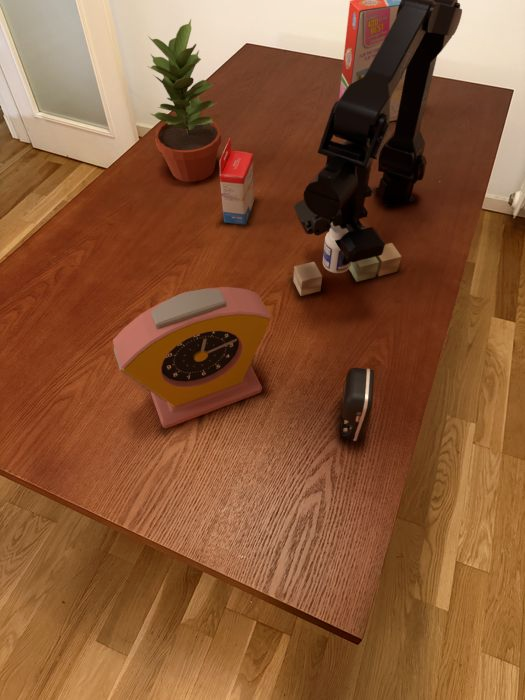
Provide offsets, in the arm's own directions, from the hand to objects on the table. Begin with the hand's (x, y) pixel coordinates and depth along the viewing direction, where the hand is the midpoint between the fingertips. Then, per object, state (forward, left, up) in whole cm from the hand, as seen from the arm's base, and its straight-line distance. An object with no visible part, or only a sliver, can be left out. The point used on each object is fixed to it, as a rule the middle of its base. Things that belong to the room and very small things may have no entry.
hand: (338, 253), depth 91 cm
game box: (-32, -49, -7) cm, 59 cm away
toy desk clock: (+30, +16, -7) cm, 34 cm away
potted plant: (+18, -43, -7) cm, 47 cm away
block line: (-2, 0, -6) cm, 7 cm away
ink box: (+12, -25, -7) cm, 28 cm away
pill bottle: (0, 0, -3) cm, 3 cm away
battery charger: (+10, +29, -7) cm, 31 cm away
